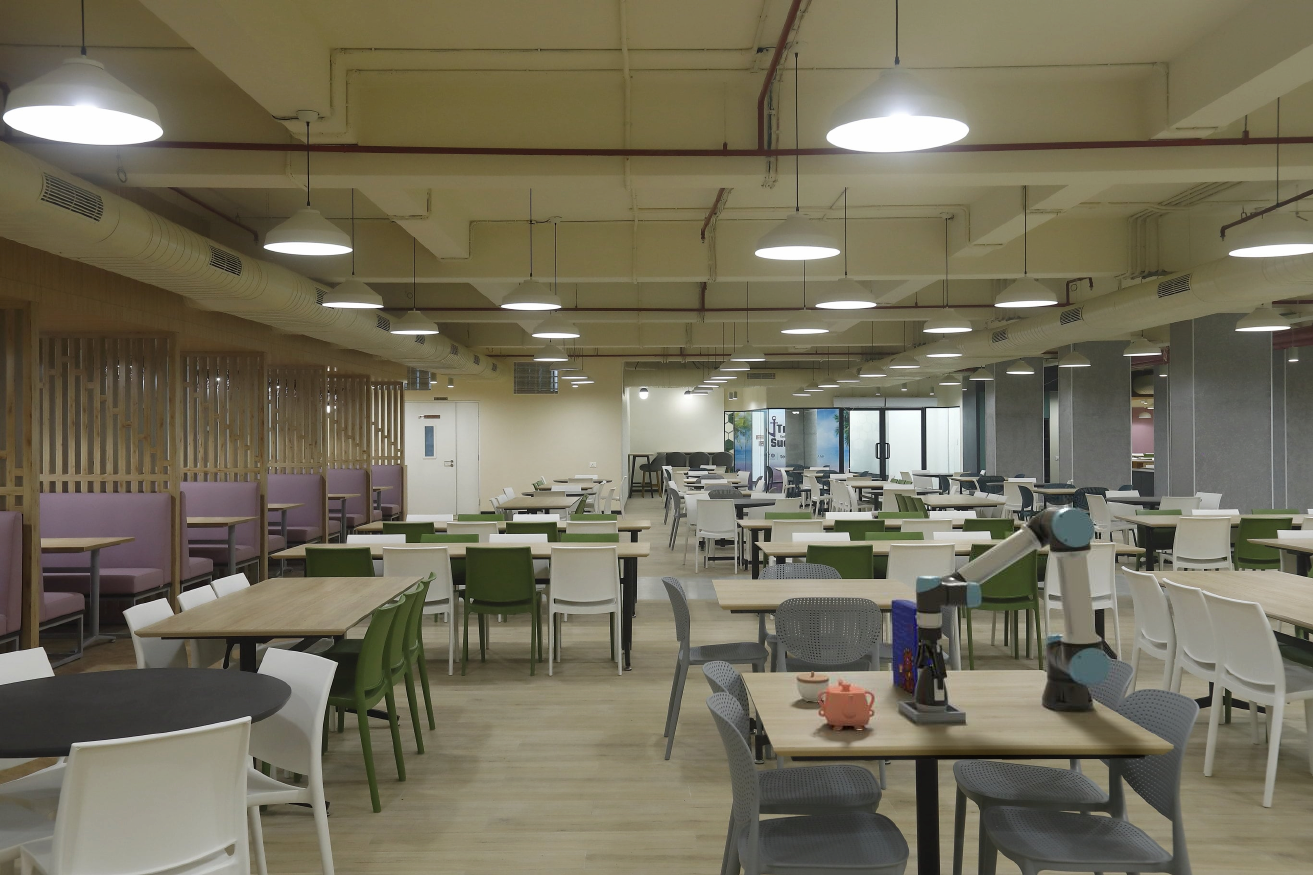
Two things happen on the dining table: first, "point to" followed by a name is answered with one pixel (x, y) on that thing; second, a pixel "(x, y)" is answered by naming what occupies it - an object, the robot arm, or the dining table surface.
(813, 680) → the lidded jar
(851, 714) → the teapot
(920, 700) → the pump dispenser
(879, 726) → the dining table surface
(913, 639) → the cereal box
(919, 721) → the tray
